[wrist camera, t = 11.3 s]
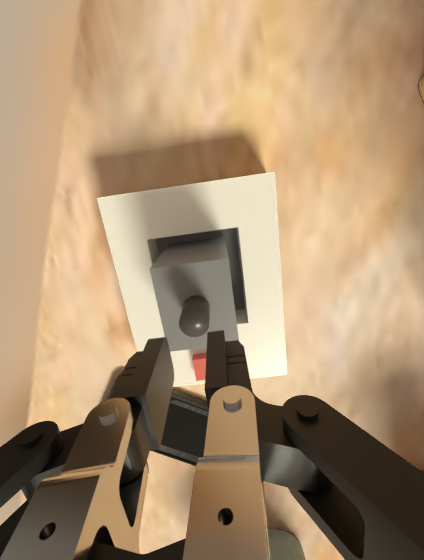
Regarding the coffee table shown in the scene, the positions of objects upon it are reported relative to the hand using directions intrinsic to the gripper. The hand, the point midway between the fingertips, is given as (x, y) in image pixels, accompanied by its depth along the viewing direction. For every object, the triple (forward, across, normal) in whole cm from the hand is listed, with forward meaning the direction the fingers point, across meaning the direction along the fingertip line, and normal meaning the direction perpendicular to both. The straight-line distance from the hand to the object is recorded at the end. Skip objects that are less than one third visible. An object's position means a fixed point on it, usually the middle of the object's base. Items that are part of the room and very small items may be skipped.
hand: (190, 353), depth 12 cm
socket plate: (+12, 0, +1) cm, 12 cm away
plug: (+12, 0, 0) cm, 12 cm away
